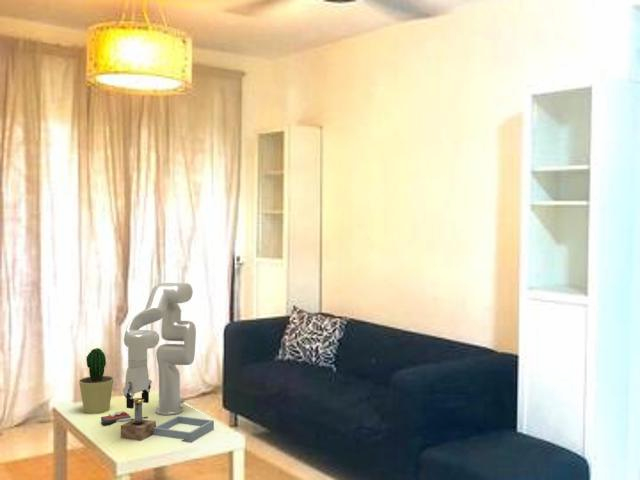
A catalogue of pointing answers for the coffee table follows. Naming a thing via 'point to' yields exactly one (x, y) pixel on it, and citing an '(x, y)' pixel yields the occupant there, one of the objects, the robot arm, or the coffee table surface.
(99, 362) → the potted cactus
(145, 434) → the holder block
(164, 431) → the tray
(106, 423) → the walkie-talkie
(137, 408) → the pin
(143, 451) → the coffee table surface
